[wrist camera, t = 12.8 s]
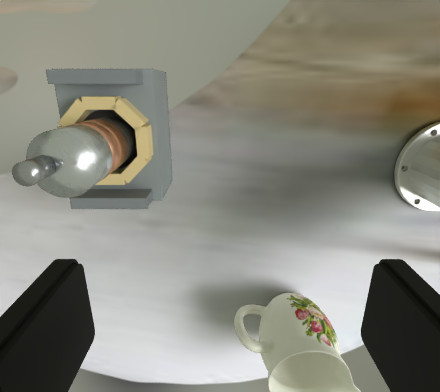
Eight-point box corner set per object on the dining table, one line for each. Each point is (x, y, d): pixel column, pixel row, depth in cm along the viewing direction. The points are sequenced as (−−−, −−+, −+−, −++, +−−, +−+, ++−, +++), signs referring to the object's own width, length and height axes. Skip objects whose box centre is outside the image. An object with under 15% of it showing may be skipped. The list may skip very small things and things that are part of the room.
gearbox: (166, 72, 37) (145, 67, 27) (172, 180, 42) (156, 210, 32) (85, 72, 37) (34, 67, 27) (101, 180, 42) (62, 210, 32)
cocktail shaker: (133, 115, 31) (75, 134, 19) (139, 163, 33) (88, 210, 20) (85, 116, 31) (-7, 135, 19) (92, 163, 33) (13, 211, 20)
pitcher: (248, 261, 47) (259, 328, 34) (346, 300, 49) (391, 377, 36) (218, 312, 50) (218, 391, 37) (312, 347, 53) (341, 432, 40)
